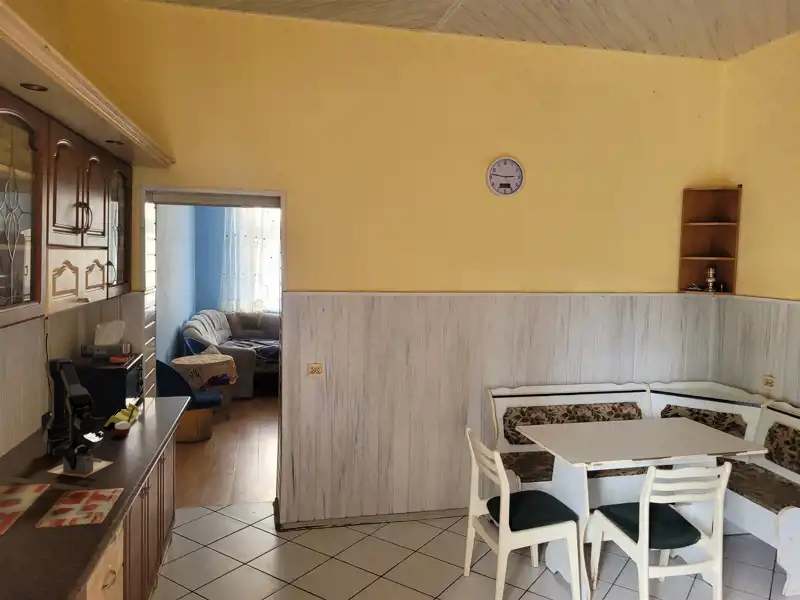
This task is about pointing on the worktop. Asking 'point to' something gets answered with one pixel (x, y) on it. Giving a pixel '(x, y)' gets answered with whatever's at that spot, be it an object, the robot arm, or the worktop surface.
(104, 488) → the worktop surface
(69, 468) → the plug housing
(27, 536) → the worktop surface
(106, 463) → the birch board
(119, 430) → the cocoa
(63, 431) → the robot arm
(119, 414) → the plastic component
